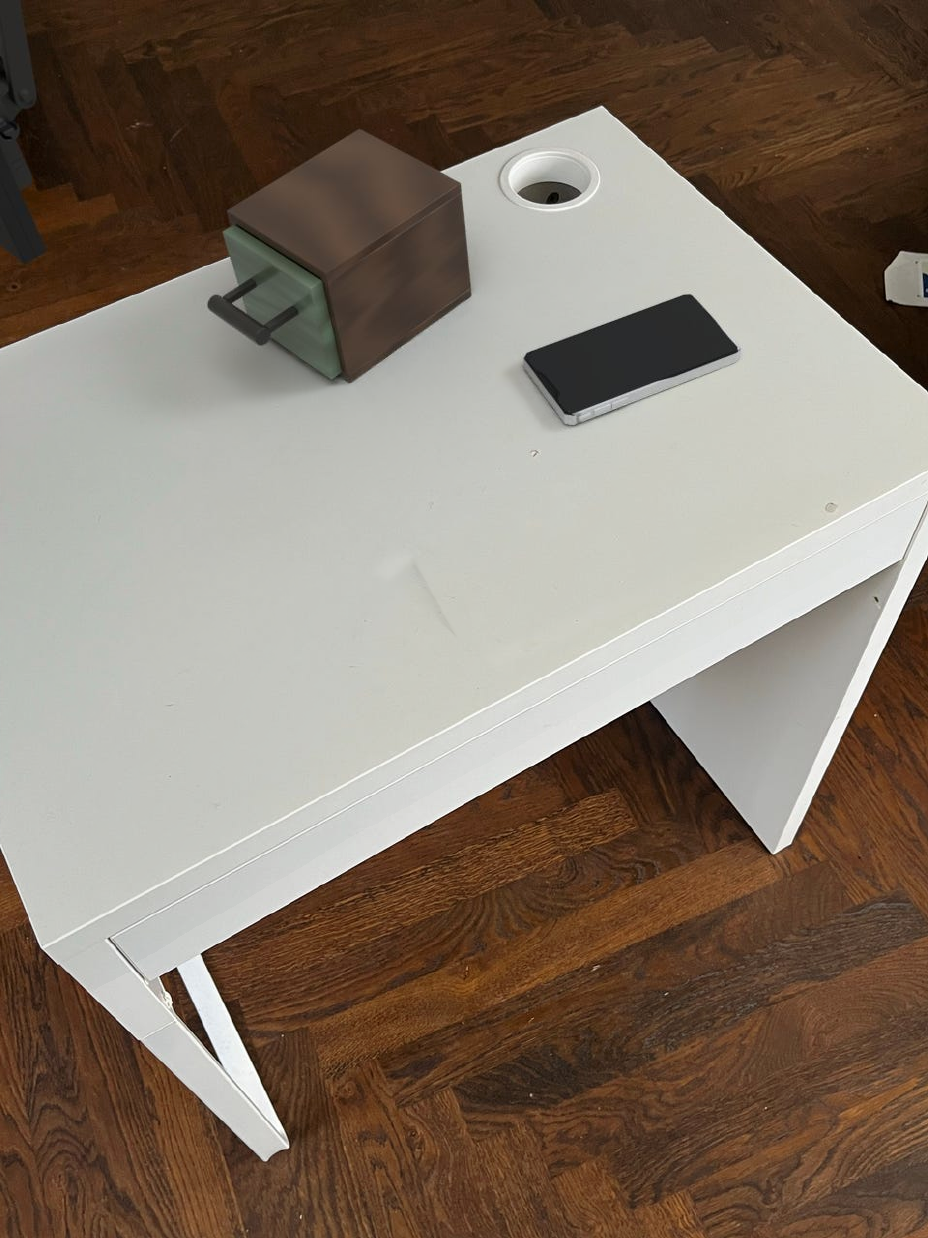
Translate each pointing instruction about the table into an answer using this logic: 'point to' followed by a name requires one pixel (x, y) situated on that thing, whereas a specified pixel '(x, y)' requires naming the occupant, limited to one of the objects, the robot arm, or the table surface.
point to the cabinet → (368, 242)
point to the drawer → (277, 302)
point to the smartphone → (630, 358)
